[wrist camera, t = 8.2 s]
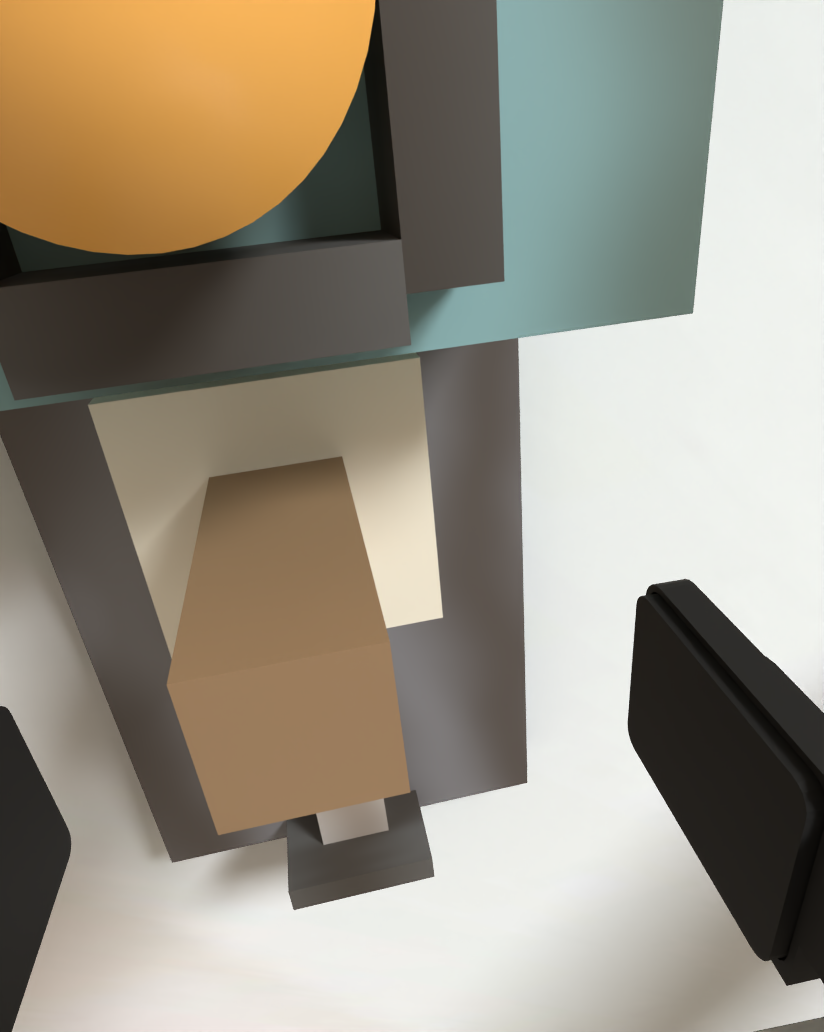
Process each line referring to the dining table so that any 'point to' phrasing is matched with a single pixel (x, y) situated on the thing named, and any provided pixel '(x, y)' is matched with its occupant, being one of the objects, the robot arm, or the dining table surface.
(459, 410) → the rail board
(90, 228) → the orange rounded knob
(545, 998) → the dining table surface
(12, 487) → the dining table surface
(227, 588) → the carriage
